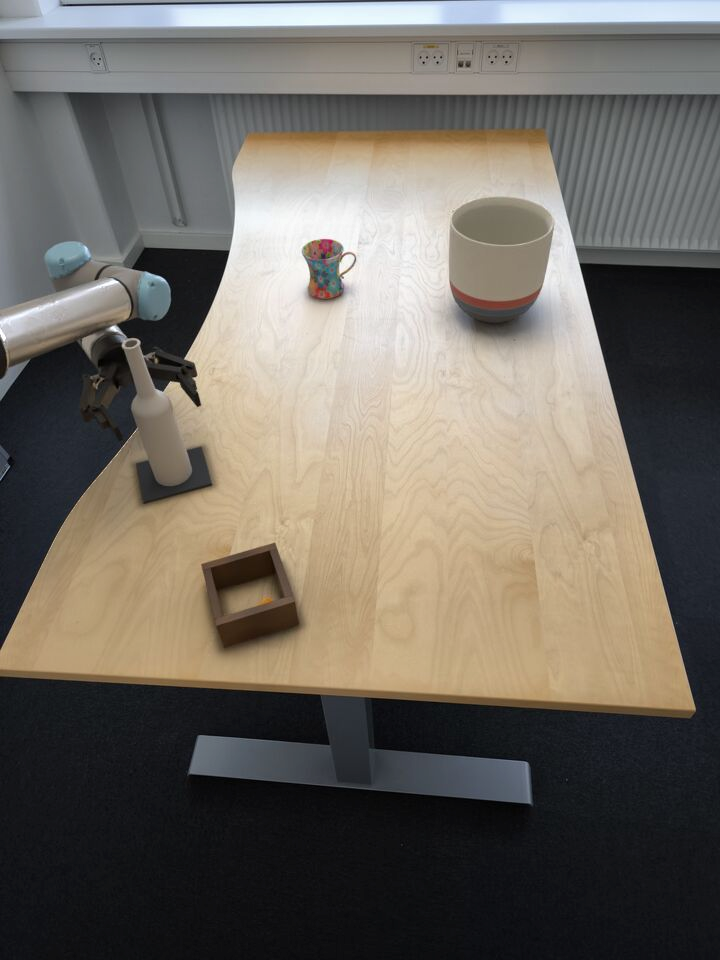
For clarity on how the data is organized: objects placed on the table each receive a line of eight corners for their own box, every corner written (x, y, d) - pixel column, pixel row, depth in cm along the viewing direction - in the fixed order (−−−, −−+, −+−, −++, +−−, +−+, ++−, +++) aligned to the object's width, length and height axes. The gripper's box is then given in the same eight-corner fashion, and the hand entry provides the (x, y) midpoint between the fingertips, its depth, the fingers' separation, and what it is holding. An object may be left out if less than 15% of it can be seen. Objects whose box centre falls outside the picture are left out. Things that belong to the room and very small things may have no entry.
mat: (143, 503, 126) (143, 501, 125) (136, 465, 132) (135, 463, 132) (212, 485, 128) (211, 483, 128) (202, 448, 135) (201, 446, 134)
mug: (306, 304, 166) (302, 261, 158) (305, 282, 172) (300, 240, 164) (359, 299, 166) (357, 257, 158) (356, 277, 172) (353, 235, 165)
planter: (536, 287, 166) (549, 195, 151) (543, 340, 152) (559, 245, 137) (446, 286, 168) (450, 196, 152) (445, 339, 154) (450, 245, 139)
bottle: (194, 459, 132) (156, 329, 112) (188, 485, 127) (147, 356, 107) (158, 460, 132) (113, 330, 112) (151, 486, 128) (103, 357, 107)
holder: (223, 648, 105) (215, 625, 101) (208, 587, 113) (200, 563, 109) (299, 624, 108) (295, 601, 103) (280, 565, 115) (275, 542, 111)
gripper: (180, 344, 136) (232, 403, 124) (49, 396, 127) (91, 466, 115) (171, 309, 131) (224, 368, 118) (33, 361, 122) (75, 431, 109)
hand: (159, 416), depth 116 cm, fingers open, 13 cm apart
